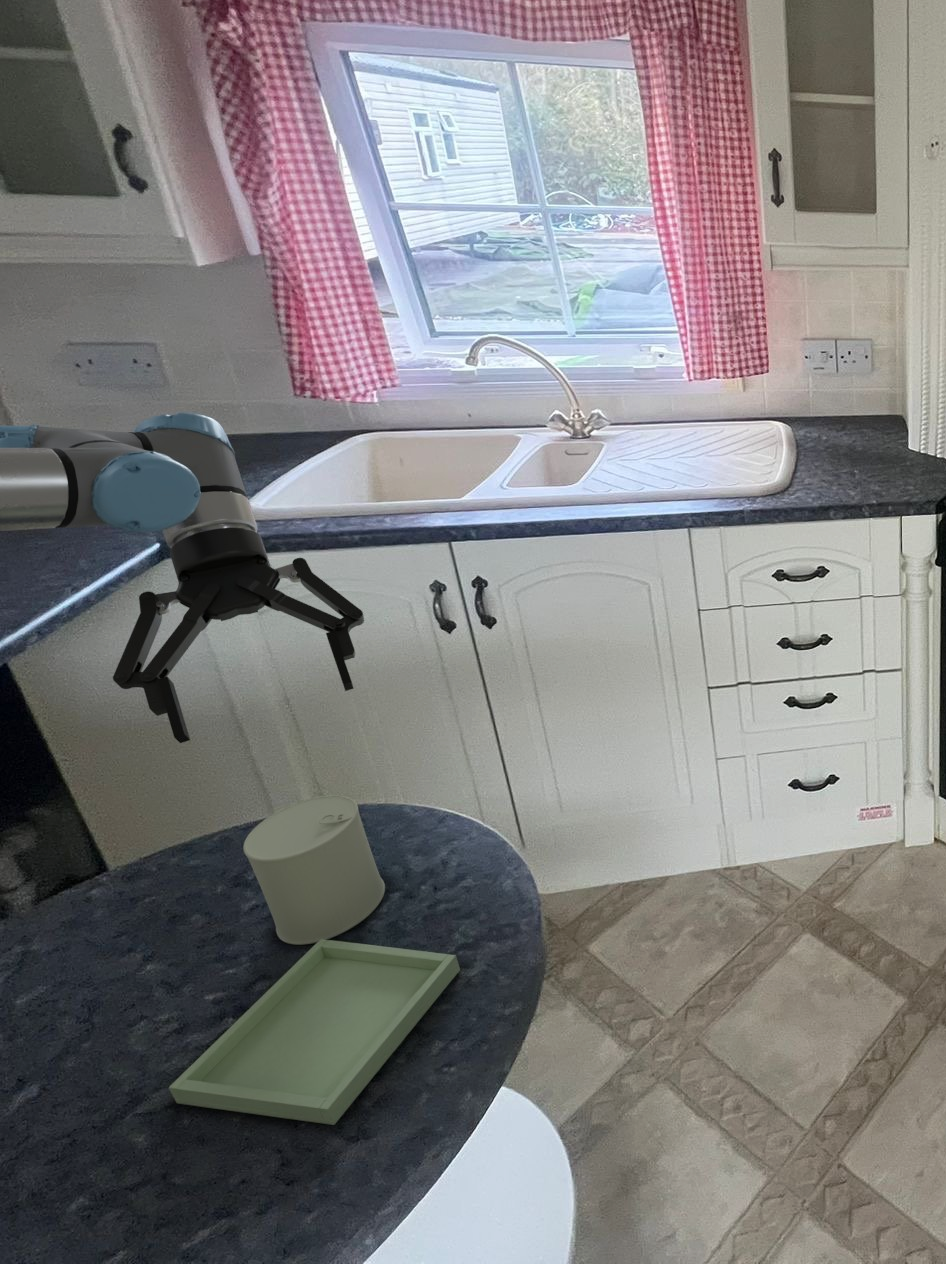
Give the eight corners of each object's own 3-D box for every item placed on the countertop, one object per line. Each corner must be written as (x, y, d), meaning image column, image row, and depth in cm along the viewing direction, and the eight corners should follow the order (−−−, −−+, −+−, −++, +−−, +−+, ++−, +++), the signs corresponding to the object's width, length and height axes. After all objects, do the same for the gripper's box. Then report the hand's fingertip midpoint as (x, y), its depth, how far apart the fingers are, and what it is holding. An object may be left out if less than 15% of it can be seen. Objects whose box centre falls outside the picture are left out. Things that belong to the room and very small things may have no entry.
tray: (176, 1103, 70) (167, 1087, 69) (326, 953, 84) (320, 938, 83) (334, 1125, 69) (327, 1109, 68) (460, 969, 83) (456, 954, 82)
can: (370, 930, 86) (339, 843, 82) (260, 956, 83) (222, 867, 79) (396, 865, 94) (369, 782, 90) (296, 887, 91) (263, 802, 87)
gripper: (355, 525, 103) (409, 676, 99) (62, 587, 87) (113, 771, 83) (350, 499, 98) (407, 658, 94) (37, 559, 82) (90, 755, 77)
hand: (269, 711), depth 88 cm, fingers open, 13 cm apart
